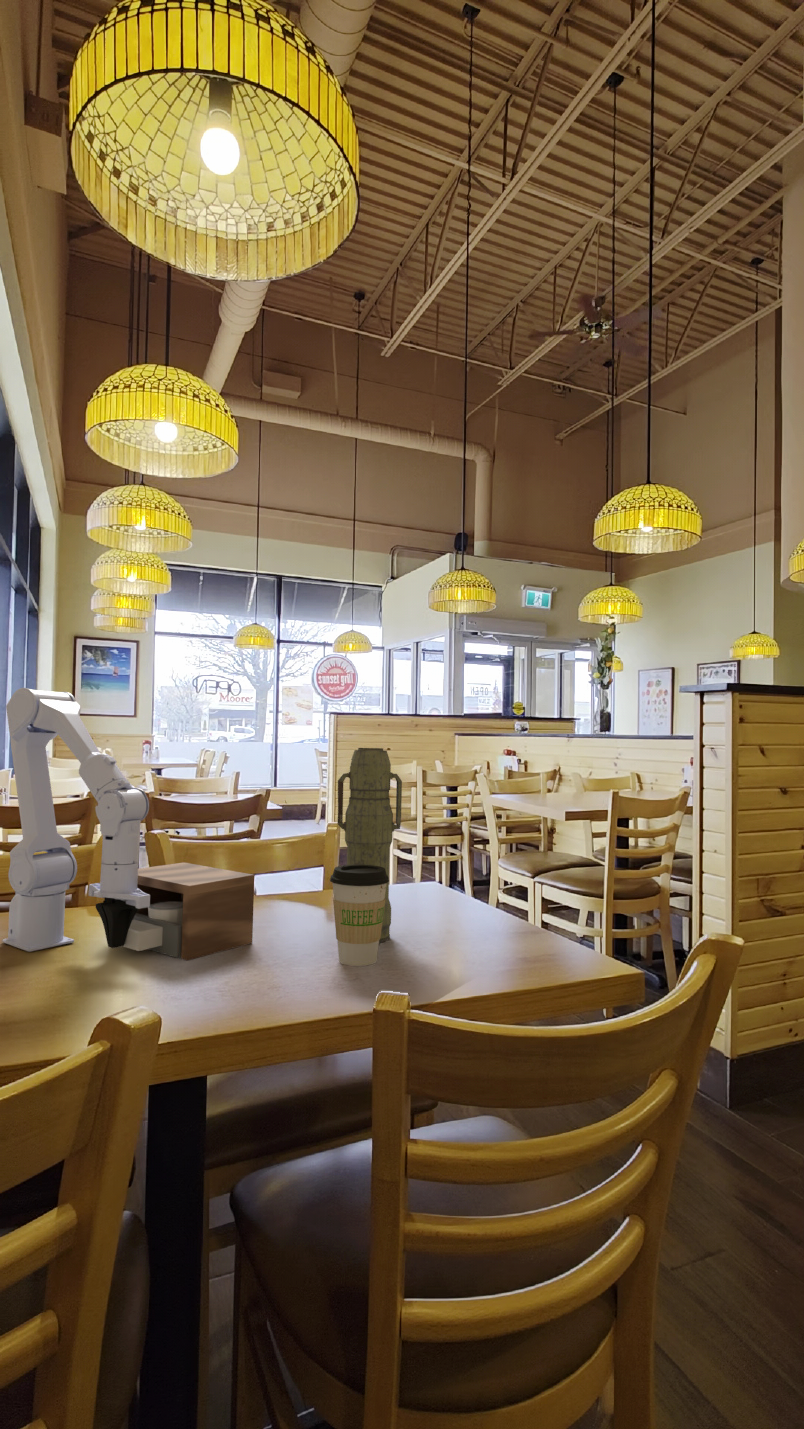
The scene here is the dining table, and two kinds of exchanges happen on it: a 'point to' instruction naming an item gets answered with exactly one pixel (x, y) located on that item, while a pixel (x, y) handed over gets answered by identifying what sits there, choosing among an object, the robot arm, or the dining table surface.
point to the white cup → (167, 911)
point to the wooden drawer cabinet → (204, 904)
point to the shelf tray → (154, 935)
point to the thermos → (370, 815)
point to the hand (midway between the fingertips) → (115, 946)
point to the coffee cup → (358, 911)
